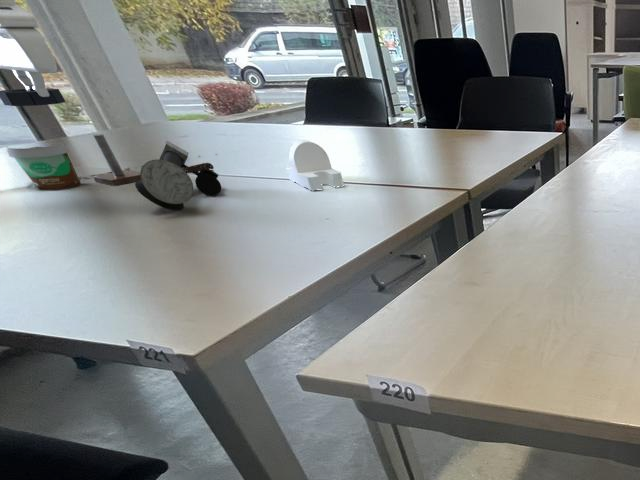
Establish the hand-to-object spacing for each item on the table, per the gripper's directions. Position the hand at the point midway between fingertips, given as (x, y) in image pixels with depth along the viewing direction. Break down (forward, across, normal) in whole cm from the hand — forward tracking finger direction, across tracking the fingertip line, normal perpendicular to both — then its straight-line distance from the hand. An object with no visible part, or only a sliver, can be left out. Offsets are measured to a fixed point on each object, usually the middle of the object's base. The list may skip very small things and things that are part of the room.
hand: (40, 96), depth 114 cm
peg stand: (+23, -22, +17) cm, 36 cm away
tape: (+2, -4, 0) cm, 4 cm away
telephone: (+23, +14, +13) cm, 30 cm away
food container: (+23, -28, +4) cm, 36 cm away
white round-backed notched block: (+23, +26, +43) cm, 56 cm away
